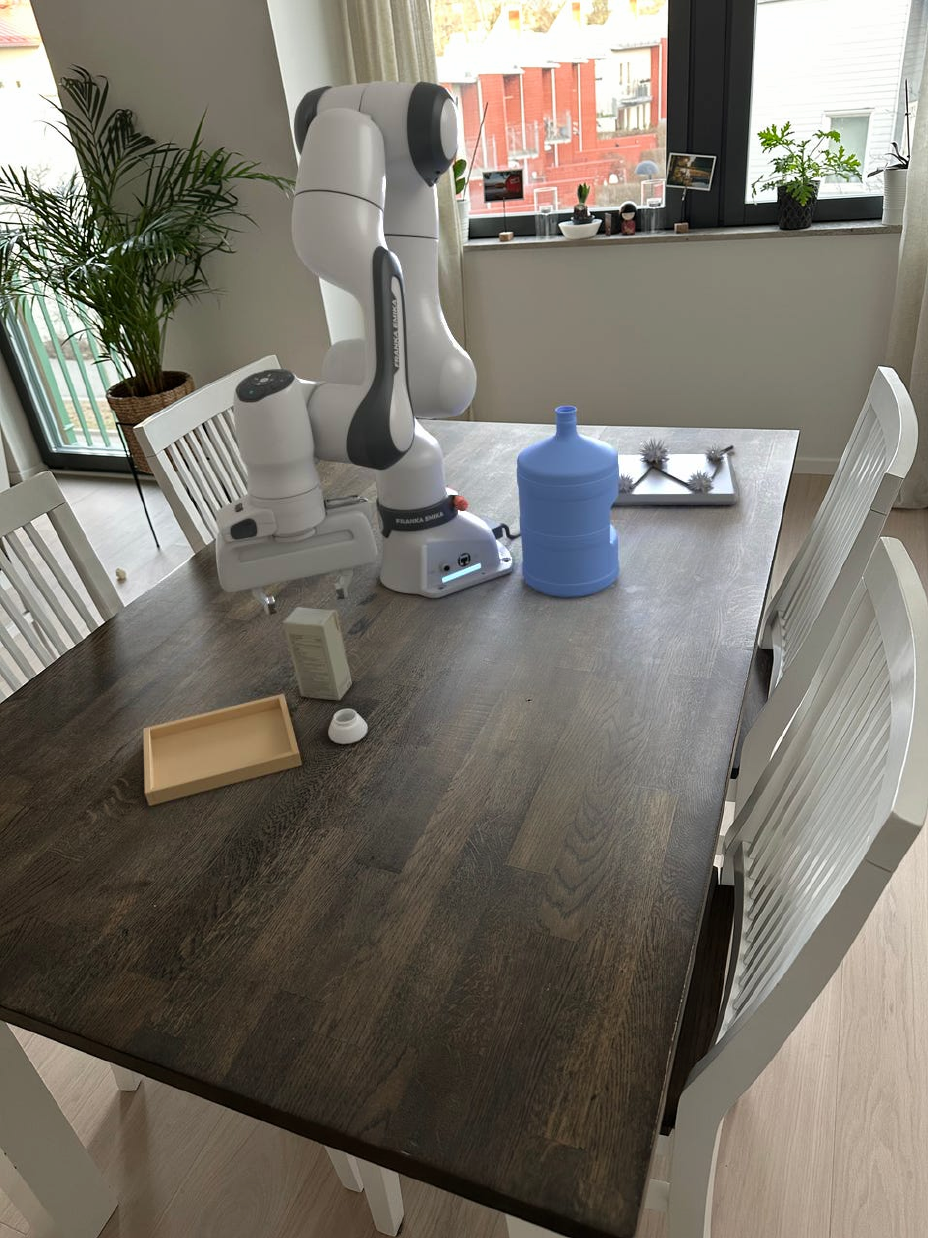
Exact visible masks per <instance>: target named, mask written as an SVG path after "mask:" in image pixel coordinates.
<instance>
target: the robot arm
mask: <svg viewBox="0 0 928 1238" xmlns="http://www.w3.org/2000/svg"><path fill="white" fill-rule="evenodd" d="M293 134H294V142H295V146H296V148H297V152H298V154H299V156H300V157H299V158H300V159H299V162H298V168H297V173H296V178H295V185H294V194H293V196H294V197H293V203H292V212H291V213H292V214H291V238H292V245H293V247H294V250H295V252H296V254H297V255H298V257H299V259H300V260H301V262H302V263H303V265H304V266H305V267H306V268H307V269H308V270H309V271H310V272H312V273H313V274H314V275H315V276H316V277H318V278H320V279H321V280H323V281H325V282H326V283H328V284H331V285H332V286H335V287H336V288H338V289H341V290H342V291H345V292H347V293H348V294H350V295H352V296H353V297H354V298H355V299H356V301H357V302H358V304H359V305H360V308H361V311H362V314H363V325H364V336H358V337H352V338H347V339H343V340H339V341H336V342H334V343H333V344H332V345H331V346H330V347H329V348H328V350H327V352H326V353H325V355H324V358H323V361H322V366H321V379H322V381H313V380H306V379H301V378H299V377H297V376H296V374H295V373H294V372H293V371H291V370H287V369H284V368H271V369H264V370H262V371H259V372H255V373H252V374H250V375H248V376H246V377H245V378H244V379H242V380H241V381H240V382H239V383H238V384H237V385H236V387H235V389H234V393H233V401H232V403H233V405H232V408H233V422H234V430H235V431H234V432H235V436H236V442H237V447H238V452H239V456H240V460H241V462H242V463H243V465H244V467H245V469H246V470H245V471H246V474H247V481H246V489H247V494H245V495H243V496H241V497H239V498H237V499H236V500H233V501H232V502H229V503H227V504H225V505H224V506H222V507H220V508H219V509H218V510H217V511H216V528H217V530H218V533H217V535H216V537H215V560H216V561H215V562H216V569H217V575H218V580H219V584H220V585H219V586H220V588H221V589H222V590H224V591H225V592H226V593H228V594H232V593H238V592H243V591H247V590H250V591H251V595H252V597H253V598H254V599H256V600H257V601H258V602H259V603H260V605H262V607H263V610H264V615H265V616H270V615H275V614H277V613H278V612H277V608H276V602H275V599H274V596H269V597H267V596H266V595H265V594H264V591H263V587H267V586H270V585H275V584H280V583H284V582H285V583H286V582H290V581H295V580H300V579H304V578H309V577H314V576H320V575H324V574H329V573H333V572H337V571H340V573H341V577H340V579H339V582H335V583H333V590H334V595H335V598H336V600H337V601H340V600H343V599H348V598H349V593H348V586H349V585H350V583H351V580H352V578H353V575H354V569H353V568H357V567H362V566H367V565H371V564H373V563H374V562H375V561H376V560H377V558H378V556H379V552H378V546H377V543H376V538H375V535H374V532H373V530H372V526H371V524H372V522H373V521H374V507H373V503H372V502H371V501H370V499H368V498H367V497H365V496H360V495H359V494H350V495H348V496H344V497H334V498H327V499H324V495H323V488H322V483H321V482H322V481H321V477H320V474H319V472H318V470H317V468H316V463H318V462H320V461H323V462H329V463H330V462H331V463H338V464H339V463H341V464H350V465H355V466H357V467H362V468H367V469H370V470H371V469H372V470H373V476H374V482H375V488H376V493H377V497H376V499H375V504H376V518H377V524H378V529H379V531H380V534H381V538H382V539H381V541H382V543H381V547H382V549H381V550H382V552H381V553H382V556H381V565H380V572H379V581H380V582H381V584H382V585H383V586H385V587H386V588H387V589H390V590H392V591H395V592H398V593H402V594H403V593H404V594H413V595H414V594H415V595H420V596H423V597H425V598H430V599H439V598H442V597H445V596H447V595H450V594H453V593H456V592H458V591H459V592H460V591H461V590H465V589H467V588H470V587H473V586H476V585H479V584H482V583H484V582H487V581H491V580H493V579H496V578H499V577H502V576H505V575H507V574H510V573H511V572H512V571H513V568H514V562H513V558H512V555H511V553H510V552H509V550H508V549H507V548H506V547H505V546H504V544H502V543H501V542H500V541H498V540H499V539H501V538H503V537H504V533H503V532H505V536H506V537H507V538H508V539H510V540H515V539H518V538H520V537H521V533H520V532H519V533H517V534H511V532H510V527H509V526H508V525H507V524H505V523H502V522H497V521H494V520H492V519H489V518H487V517H485V516H483V515H482V516H477V515H475V514H473V513H471V512H468V511H466V510H467V509H468V508H469V502H468V501H467V500H466V499H465V497H464V496H462V495H459V493H458V492H457V491H456V490H454V489H452V487H450V486H448V485H447V484H446V478H445V477H446V476H445V467H444V457H443V451H442V450H443V449H442V448H441V445H440V443H439V442H438V441H437V439H435V437H433V436H432V435H431V434H430V433H429V432H428V431H427V430H425V429H424V428H423V427H422V425H421V424H420V423H419V421H418V419H417V418H420V419H428V420H431V419H443V418H450V417H451V418H452V417H456V416H460V415H462V414H463V413H464V412H466V410H467V409H468V407H469V406H470V405H471V403H472V402H473V399H474V397H475V394H476V390H477V386H478V385H477V383H478V382H477V381H478V378H477V371H476V367H475V365H474V362H473V360H472V359H471V357H470V355H469V354H468V352H466V351H465V350H464V349H463V348H462V347H461V346H460V345H459V343H458V342H457V341H456V339H455V338H454V336H453V335H452V333H451V330H450V329H449V326H448V324H447V321H446V318H445V316H444V313H443V309H442V305H441V301H440V293H439V292H440V291H439V236H440V235H439V234H440V232H439V230H440V228H439V227H440V226H439V225H440V223H439V222H440V221H439V205H438V204H439V202H438V193H437V186H436V185H437V184H438V183H439V180H440V179H441V176H442V175H444V174H445V173H447V171H448V170H449V169H450V167H451V166H452V164H453V163H454V161H455V158H456V157H457V154H458V151H459V147H460V138H461V123H460V115H459V109H458V105H457V103H456V100H455V99H454V97H453V96H452V94H451V93H450V91H449V90H448V89H447V88H446V87H444V86H442V85H439V84H437V83H433V82H427V81H418V82H417V83H414V82H405V81H396V80H395V81H394V80H372V81H370V82H363V83H362V82H361V83H352V84H346V85H340V86H336V87H334V86H331V85H325V86H321V87H317V88H314V89H312V90H309V91H307V92H306V93H305V94H304V95H303V97H302V99H301V100H300V101H299V103H298V105H297V107H296V109H295V112H294V118H293ZM734 448H735V446H734V445H733V444H731V445H728V446H727V447H725V448H722V449H721V452H722V451H724V450H725V451H724V452H723V453H727V452H728V451H731V450H733V449H734ZM503 530H504V531H503Z"/></svg>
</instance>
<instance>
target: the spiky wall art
mask: <svg viewBox="0 0 928 1238" xmlns="http://www.w3.org/2000/svg"><path fill="white" fill-rule="evenodd" d="M662 440H663V439H659V441H658V443H657V441H656V438H653V440H652V439H650V441H649V442H648V443H647V442H646V441H645V440H644V441H643V443H642V444H641V446H642V447H643V448H644V449H641V448H640V449H639V452H637V454H628V455H627V454H620V455H619V454H618V463H619V482H618V497H617V499H616V500H615V502H614V503H613V504H612V506H733V505H735V504H736V503H737V502H738V501H739V500H740V496H739V492H738V487H737V486H738V485H737V481H736V475H735V471H734V466H733V461H732V458H731V457H730V456H729V455H728V454H727V452H725V453H723V452H724V451H725V450H724V451H722V452H721V450H722V449H723V446H718V447H717V445H715V444H714V445H713V444H712V447H708V448H706V451H707V452H704V453H694V454H692V453H689V454H688V453H687V454H685V453H684V454H683V453H682V454H681V453H679V454H669V453H668V452H670V451H671V450H672V448H671V449H669V446H670V444H668V445H666V446H664V443H665V441H666V439H665V440H663V441H662Z"/></svg>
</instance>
